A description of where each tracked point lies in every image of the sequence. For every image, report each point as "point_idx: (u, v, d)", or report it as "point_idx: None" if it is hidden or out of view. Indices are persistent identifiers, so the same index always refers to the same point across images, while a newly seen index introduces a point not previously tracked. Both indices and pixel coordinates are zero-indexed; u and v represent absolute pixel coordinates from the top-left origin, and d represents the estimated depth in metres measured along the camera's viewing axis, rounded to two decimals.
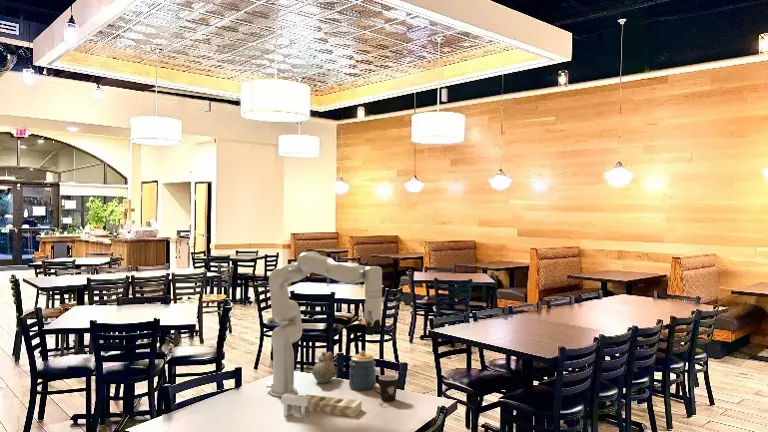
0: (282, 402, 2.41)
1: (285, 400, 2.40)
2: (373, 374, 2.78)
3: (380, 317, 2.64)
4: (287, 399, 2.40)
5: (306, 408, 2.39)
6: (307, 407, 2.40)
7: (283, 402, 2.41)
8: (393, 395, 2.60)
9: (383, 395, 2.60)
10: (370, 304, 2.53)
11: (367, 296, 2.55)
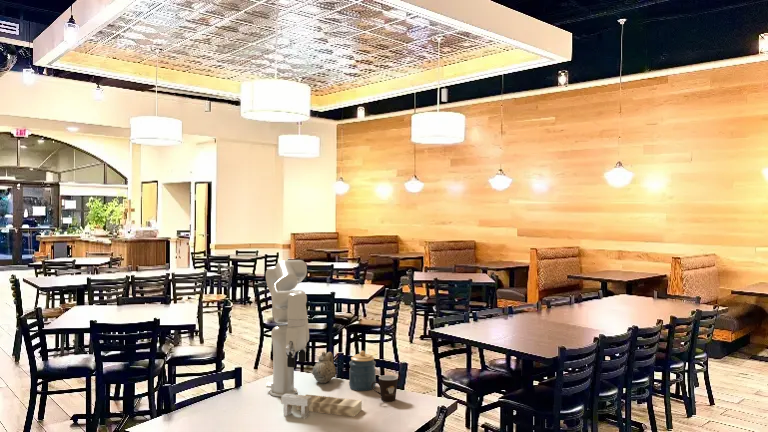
0: (282, 402, 2.41)
1: (285, 400, 2.40)
2: (373, 374, 2.78)
3: None
4: (287, 399, 2.40)
5: (306, 408, 2.39)
6: (307, 407, 2.40)
7: (283, 402, 2.41)
8: (393, 395, 2.60)
9: (383, 395, 2.60)
10: (292, 334, 2.36)
11: (289, 325, 2.38)
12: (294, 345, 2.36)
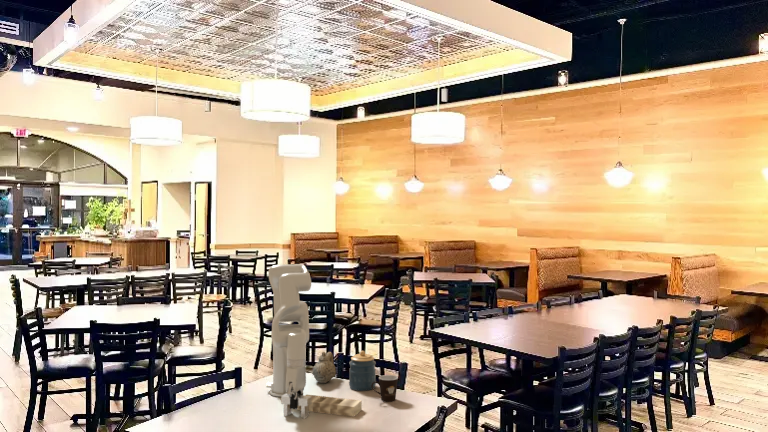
0: (282, 402, 2.41)
1: (285, 400, 2.40)
2: (373, 374, 2.78)
3: (303, 389, 2.45)
4: (287, 399, 2.40)
5: (306, 408, 2.39)
6: (307, 407, 2.40)
7: (283, 402, 2.41)
8: (393, 395, 2.60)
9: (383, 395, 2.60)
10: (291, 374, 2.36)
11: (289, 365, 2.38)
12: (294, 386, 2.36)
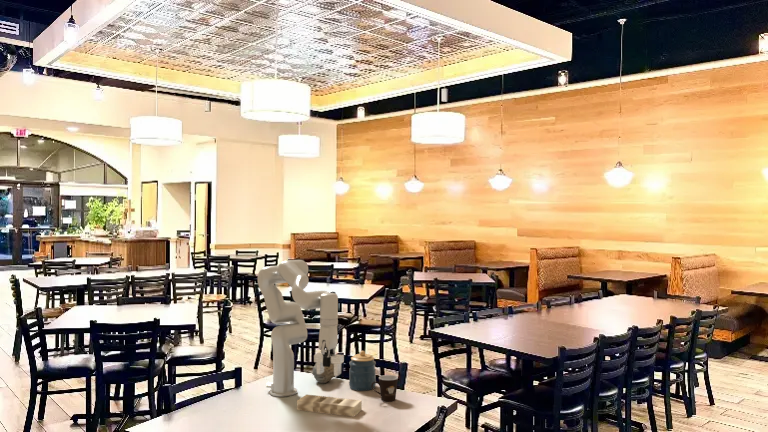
0: (315, 360, 2.48)
1: (318, 358, 2.47)
2: (373, 374, 2.78)
3: None
4: (320, 357, 2.47)
5: (339, 366, 2.46)
6: (339, 365, 2.47)
7: (316, 360, 2.48)
8: (393, 395, 2.60)
9: (383, 395, 2.60)
10: (324, 333, 2.44)
11: (322, 324, 2.45)
12: (327, 344, 2.43)
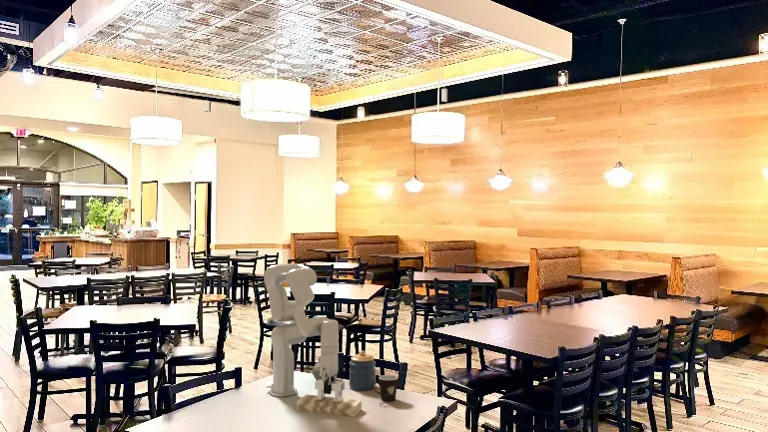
0: (316, 388, 2.48)
1: (319, 385, 2.47)
2: (373, 374, 2.78)
3: None
4: (321, 384, 2.47)
5: (340, 393, 2.46)
6: (340, 392, 2.47)
7: (317, 388, 2.48)
8: (393, 395, 2.60)
9: (383, 395, 2.60)
10: (325, 360, 2.44)
11: (322, 352, 2.46)
12: (328, 371, 2.43)
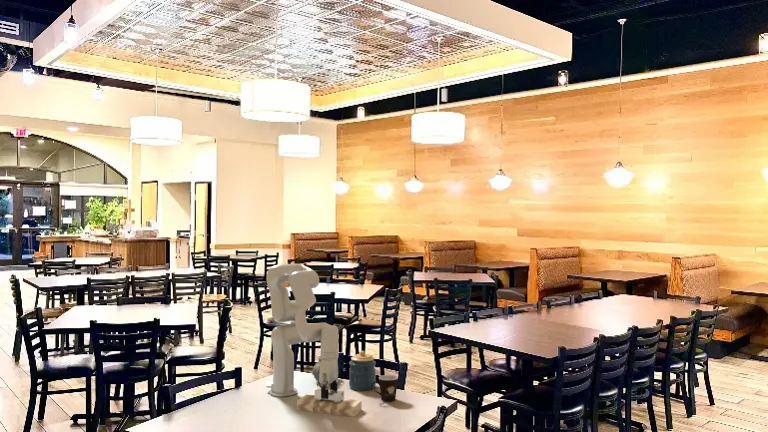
0: (315, 397, 2.48)
1: (319, 394, 2.47)
2: (373, 374, 2.78)
3: (337, 377, 2.54)
4: (320, 393, 2.47)
5: (339, 402, 2.46)
6: (340, 402, 2.47)
7: (316, 397, 2.48)
8: (393, 395, 2.60)
9: (383, 395, 2.60)
10: (325, 366, 2.44)
11: (322, 357, 2.46)
12: (328, 377, 2.43)
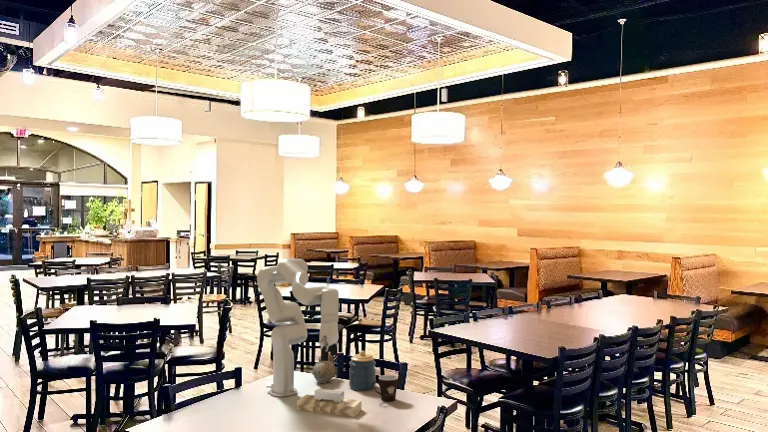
0: (315, 397, 2.48)
1: (319, 395, 2.47)
2: (373, 374, 2.78)
3: None
4: (320, 393, 2.47)
5: (339, 402, 2.46)
6: (340, 402, 2.47)
7: (316, 397, 2.48)
8: (393, 395, 2.60)
9: (383, 395, 2.60)
10: (325, 328, 2.44)
11: (322, 320, 2.46)
12: (328, 339, 2.43)
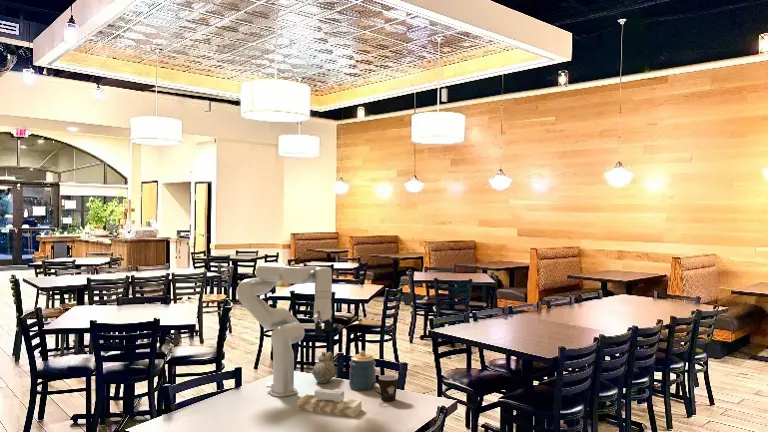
0: (315, 397, 2.48)
1: (319, 395, 2.47)
2: (373, 374, 2.78)
3: (331, 317, 2.68)
4: (320, 393, 2.47)
5: (339, 402, 2.46)
6: (340, 402, 2.47)
7: (316, 397, 2.48)
8: (393, 395, 2.60)
9: (383, 395, 2.60)
10: (319, 304, 2.57)
11: (316, 296, 2.59)
12: (321, 315, 2.56)
